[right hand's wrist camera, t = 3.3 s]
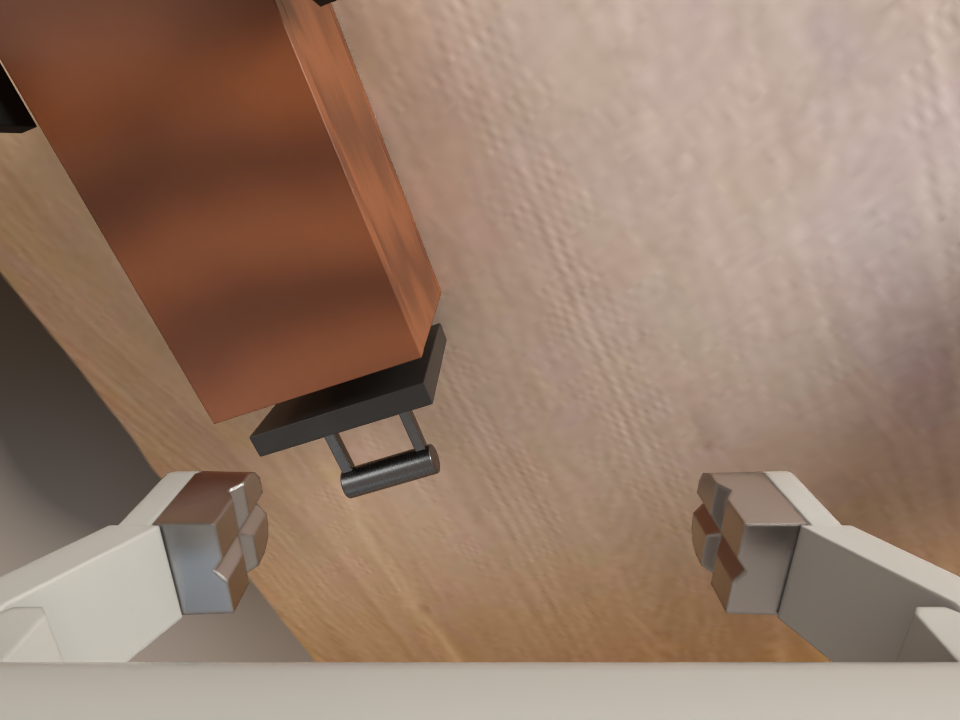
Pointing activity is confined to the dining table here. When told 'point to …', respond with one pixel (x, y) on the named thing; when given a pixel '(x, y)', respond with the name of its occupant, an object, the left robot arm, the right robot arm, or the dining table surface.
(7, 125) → the left robot arm
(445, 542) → the dining table surface
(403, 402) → the drawer
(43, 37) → the cabinet
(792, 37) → the dining table surface
